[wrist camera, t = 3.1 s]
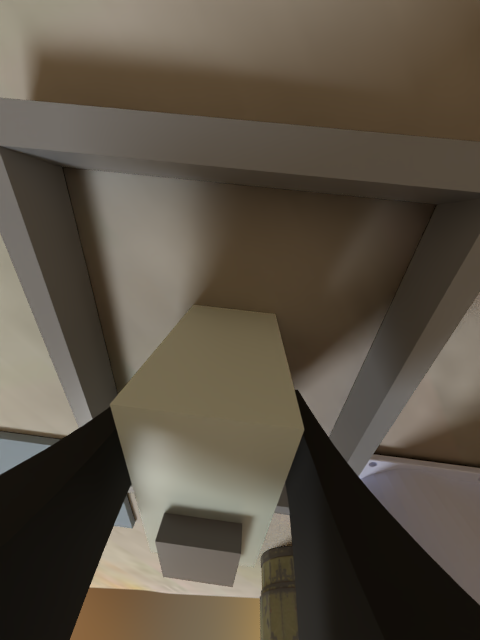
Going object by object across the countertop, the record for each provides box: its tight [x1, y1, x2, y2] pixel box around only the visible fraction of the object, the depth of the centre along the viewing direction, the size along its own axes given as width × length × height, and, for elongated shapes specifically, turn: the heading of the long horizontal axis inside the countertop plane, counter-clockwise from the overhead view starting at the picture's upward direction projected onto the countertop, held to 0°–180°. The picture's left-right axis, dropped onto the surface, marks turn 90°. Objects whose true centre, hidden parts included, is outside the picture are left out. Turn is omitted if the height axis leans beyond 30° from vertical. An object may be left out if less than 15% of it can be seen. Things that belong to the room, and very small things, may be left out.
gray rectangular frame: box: [0, 98, 480, 515], centre depth 10 cm, size 16×20×2 cm
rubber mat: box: [0, 431, 135, 528], centre depth 17 cm, size 11×13×1 cm
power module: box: [110, 305, 304, 587], centre depth 8 cm, size 4×8×7 cm, turn 175°
